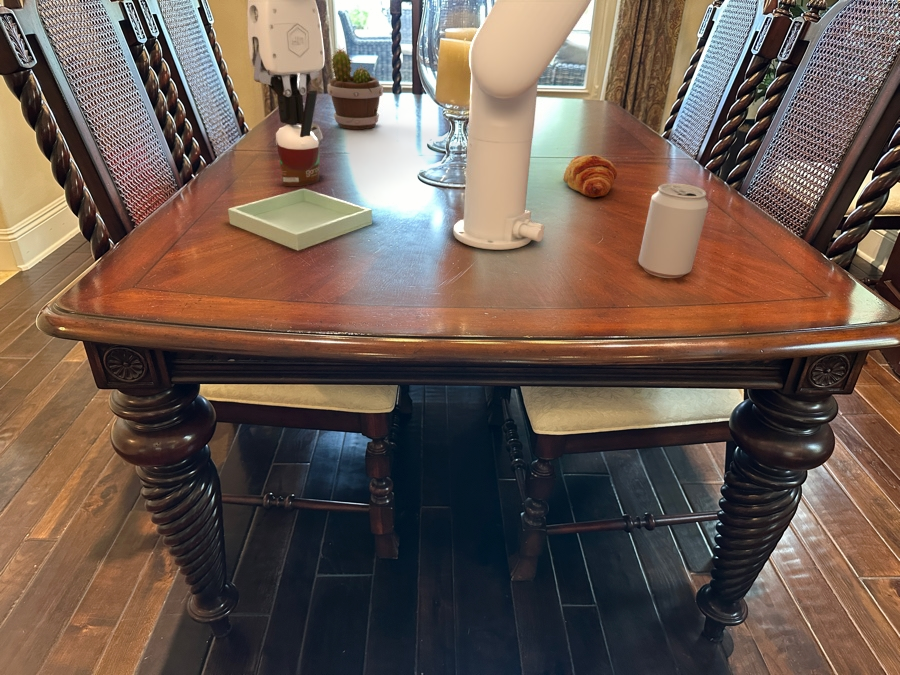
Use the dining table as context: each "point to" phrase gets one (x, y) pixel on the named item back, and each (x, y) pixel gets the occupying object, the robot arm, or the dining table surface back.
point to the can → (673, 230)
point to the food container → (307, 175)
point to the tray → (300, 218)
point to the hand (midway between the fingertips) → (292, 122)
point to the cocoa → (299, 140)
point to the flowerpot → (353, 94)
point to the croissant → (590, 175)
